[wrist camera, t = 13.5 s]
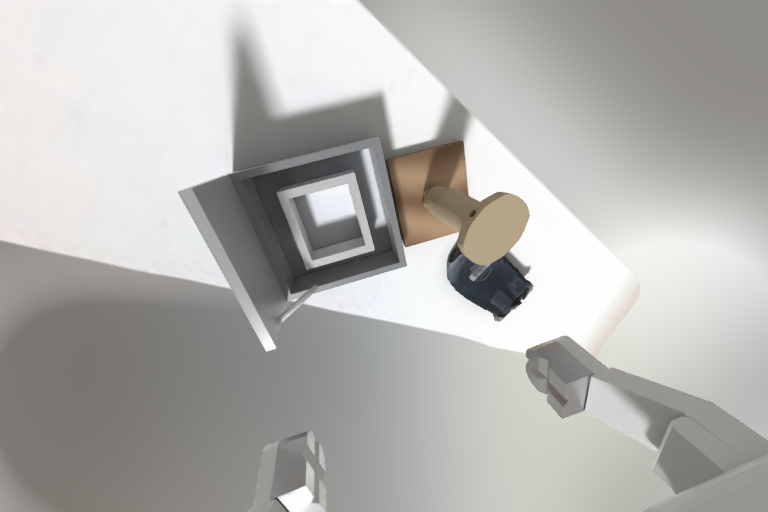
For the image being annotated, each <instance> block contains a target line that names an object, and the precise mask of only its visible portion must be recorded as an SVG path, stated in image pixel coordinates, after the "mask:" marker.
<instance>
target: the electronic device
mask: <svg viewBox="0 0 768 512" xmlns="http://www.w3.org/2000/svg"><path fill="white" fill-rule="evenodd" d="M458 249H459V246H457V248H456V249H455V250H454V251H453V253H452V254H451V256H450V259H449V262H448V266H447V277H448V280H449V281H450V283H451V285H452V286H453V287H454V288H455V290H456V291H458V292H459V293H460V294H461V295H463V296H464V297H465V298H466V299H468V300H470V301H471V302H473V303H474V304H476V305H478V306H480V307H481V308H483V309H485V310H488V311H490V312H491V313H493V316H494V320H495V321H498V322H500V321H501V320H502V319H503V318H504V317H505V316H506V315H507V314H508V313H509V312H510V311H511V310H512V309H515V308H516V307H518V306H519V305H520V304H521V303H522V302H521V299H522V300H524V299H525V298H526V296H527V295H528V293H530V292H531V291H532V290H533V285H532V283H531V282H530V281H527V280H526V279H525V278H524V277H523V276H522V274H520V273H519V271H518V269H516V268H515V267H514V266H513V265H512V264H511V263H510V262H509V261H508V260H507V259H506V258H505V257H504V256H503V257H501V258H499V259H498V260H496V261H494V262H492V263H491V264H489V265H478V264H476V263H474V262H472V261H471V260H470V259H468V258H467V257H466V256H465V255H464V254H460V255H459V256H458V257H457V258H456V259H455V261H454V262H452V263H450V262H451V258H452V257H453V255H454V253H455V252H456V251H457V250H458Z"/></svg>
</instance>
